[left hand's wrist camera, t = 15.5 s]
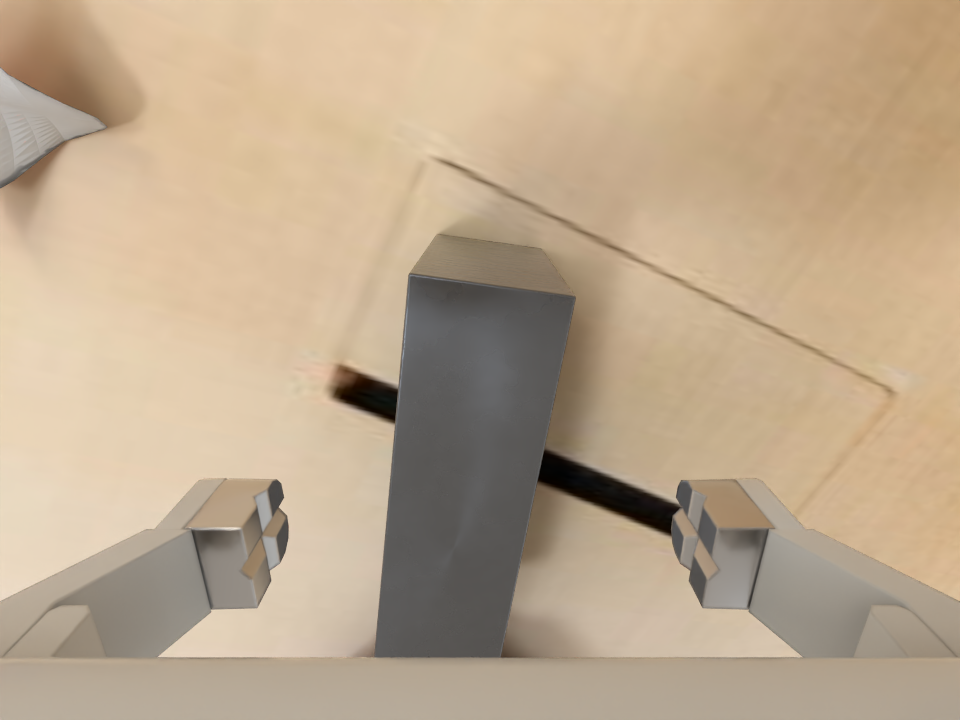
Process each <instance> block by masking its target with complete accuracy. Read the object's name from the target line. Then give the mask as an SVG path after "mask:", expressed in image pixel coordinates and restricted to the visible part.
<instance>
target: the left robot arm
mask: <svg viewBox="0 0 960 720" xmlns="http://www.w3.org/2000/svg"><path fill="white" fill-rule="evenodd" d="M283 498H284V495H283V490H282V485H281V483H280V482H279V481H278V480H277V479H226V478H205V479H202V480H198V481H197V483H196V484H195V485H194V486H193V487H192V488H191V489H190V490H189V491H188V493H187V494H186V495H185V496H184V497H183V498H182V499H181V500H180V501H179V503H178V504H177V505H176V506H175V507H174V508H173V509H172V510H171V511H170V512H169V514H168V515H167V516H166V517H165V518H164V519H163V520H162V521H161V522H160V524H159V525H158V526H157V527H156V528H155V529H146V530H144V531H142V532H140V533H138V534H136V535H134V536H132V537H130V538H128V539H126V540H124V541H121V542H119V543H117V544H115V545H113V546H111V547H109V548H107V549H105V550H103V551H101V552H99V553H97V554H95V555H93V556H91V557H89V558H87V559H85V560H83V561H81V562H79V563H77V564H75V565H73V566H71V567H69V568H67V569H65V570H63V571H61V572H59V573H57V574H55V575H53V576H50V577H48V578H46V579H44V580H42V581H40V582H38V583H36V584H34V585H32V586H30V587H28V588H26V589H24V590H22V591H20V592H18V593H16V594H14V595H12V596H10V597H8V598H6V599H4V600H2V601H0V720H960V601H958V600H956V599H954V598H952V597H950V596H948V595H946V594H944V593H942V592H940V591H938V590H936V589H934V588H932V587H929V586H927V585H925V584H923V583H921V582H919V581H917V580H915V579H913V578H911V577H909V576H907V575H905V574H903V573H901V572H899V571H897V570H895V569H893V568H891V567H889V566H887V565H885V564H883V563H881V562H879V561H877V560H875V559H873V558H871V557H869V556H867V555H865V554H863V553H861V552H859V551H857V550H855V549H853V548H851V547H849V546H847V545H845V544H843V543H840V542H838V541H836V540H834V539H832V538H830V537H828V536H826V535H824V534H822V533H820V532H818V531H816V530H814V529H805V528H804V527H803V526H802V525H801V524H800V522H799V521H798V520H797V519H796V518H795V517H794V516H793V515H792V514H791V512H790V511H789V510H788V509H787V508H786V507H785V506H784V505H783V504H782V503H781V501H780V500H779V499H778V498H777V497H776V496H775V495H774V494H773V493H772V491H771V490H770V489H769V488H768V487H767V486H766V485H765V484H764V483H763V481H761V480H759V479H757V478H742V479H720V480H681V482H680V484H679V486H678V489H677V495H676V498H677V500H678V502H679V504H680V505H681V508H680V509H679V510H678V511H677V512H676V513H675V514H674V515H673V520H672V528H671V532H672V544H673V547H674V550H675V554H676V556H677V558H678V560H679V562H680V564H682V565H683V566H684V567H686V568H687V569H689V570H690V577H689V582H690V584H691V586H692V588H693V590H694V592H695V594H696V596H697V598H698V600H699V602H700V604H701V606H702V608H715V609H749V612H750V613H751V614H752V615H753V616H754V617H756V618H757V619H758V620H759V621H760V622H762V623H763V624H764V625H765V626H766V627H768V628H769V629H770V630H771V631H772V632H774V633H775V634H776V635H777V636H778V637H780V638H781V639H782V640H783V641H784V642H786V643H787V644H788V645H789V646H790V647H792V648H793V649H794V650H795V651H796V652H798V653H799V654H800V655H801V656H802V657H754V658H465V657H255V658H176V657H158V656H159V655H160V654H161V653H162V652H164V651H165V650H166V649H167V648H168V647H170V646H171V645H172V644H173V643H174V642H176V641H177V640H178V639H179V638H181V637H182V636H183V635H184V634H185V633H187V632H188V631H189V630H190V629H191V628H193V627H194V626H195V625H196V624H197V623H199V622H200V621H201V620H202V619H203V618H205V617H206V616H207V615H208V614H209V613H211V609H244V608H258V606H259V604H260V602H261V600H262V598H263V596H264V594H265V592H266V590H267V588H268V586H269V584H270V582H271V577H270V570H271V569H273V568H274V567H276V566H277V565H278V564H280V562H281V560H282V558H283V556H284V554H285V551H286V546H287V542H288V519H287V515H286V514H285V513H284V512H283V511H282V510H281V509H280V508H279V505H280V504H281V502H282V500H283Z"/></svg>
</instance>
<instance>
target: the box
mask: <svg viewBox="0 0 960 720" xmlns="http://www.w3.org/2000/svg"><path fill="white" fill-rule="evenodd" d="M575 299H576V297H575V295H574V294H573V293H572V291H571V290H570V288H569V287H568V285H567V284H566V283H565V281H564V280H563V278H562V277H561V276H560V274H559V273H558V271H557V270H556V269H555V267H554V266H553V264H552V263H551V262H550V260H549V259H548V257H547V256H546V254H545V253H544V252H543V250H542V249H539V248H532V247H525V246H518V245H511V244H504V243H497V242H490V241H483V240H476V239H469V238H462V237H455V236H448V235H441V234H437V235H436V236H435V238H434V239H433V241H432V242H431V243H430V245H429V246H428V248H427V249H426V251H425V252H424V253H423V255H422V256H421V258H420V259H419V261H418V262H417V263H416V265H415V266H414V268H413V269H412V271H411V272H410V273H409V276H408V287H407V298H406V309H405V320H404V331H403V342H402V354H401V365H400V376H399V387H398V398H397V409H396V420H395V432H394V443H393V454H392V465H391V476H390V487H389V499H388V510H387V521H386V532H385V543H384V554H383V565H382V577H381V588H380V599H379V610H378V621H377V632H376V644H375V655H374V657H465V658H501V653H502V648H503V643H504V639H505V634H506V629H507V624H508V620H509V615H510V610H511V605H512V600H513V596H514V591H515V586H516V581H517V577H518V572H519V567H520V562H521V557H522V553H523V548H524V543H525V538H526V534H527V529H528V524H529V519H530V514H531V510H532V505H533V500H534V495H535V491H536V486H537V481H538V476H539V471H540V467H541V462H542V457H543V452H544V448H545V443H546V438H547V433H548V428H549V424H550V419H551V414H552V409H553V404H554V400H555V395H556V390H557V385H558V381H559V376H560V371H561V366H562V361H563V357H564V352H565V347H566V342H567V338H568V333H569V328H570V323H571V318H572V314H573V309H574V304H575Z"/></svg>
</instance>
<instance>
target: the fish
mask: <svg viewBox="0 0 960 720" xmlns="http://www.w3.org/2000/svg"><path fill="white" fill-rule="evenodd" d="M105 128H107V126H106V125H105V124H103V123H102V122H101V121H100V120H99V119H98V118H96V117H94V116H92V115H89V114H87V113H85V112H83V111H80V110H78V109H76V108H73V107H71V106H68V105H66V104H64V103H61V102H59V101H57V100H55V99H54V98H52V97H50V96H48V95H46V94H44V93H42V92H40V91H38V90H36V89H34V88H32V87H30V86H29V85H27V84H25V83H23V82H21V81H19V80H17V79H16V78H14V77H12V76H10V75H8V74H7V73H6V72H5V71H4V70H3V69H2V68H1V67H0V188H2V187H4V186H5V185H7V184H9V183H10V182H12V181H14V180H15V179H16V178H18V177H19V176H20V175H21V174H23V173H24V172H25V171H26V170H28V169H29V168H30V167H31V166H33V165H34V164H35V163H37V162H38V161H39V160H40V159H42V158H43V157H44V156H46V155H47V154H48V153H50V152H51V151H52V150H54V149H55V148H56V147H58V146H59V145H60V144H62V143H63V142H64V141H67V140H70V139H74V138H78V137H81V136H84V135H87V134H90V133H93V132H96V131H100V130H104V129H105Z"/></svg>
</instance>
